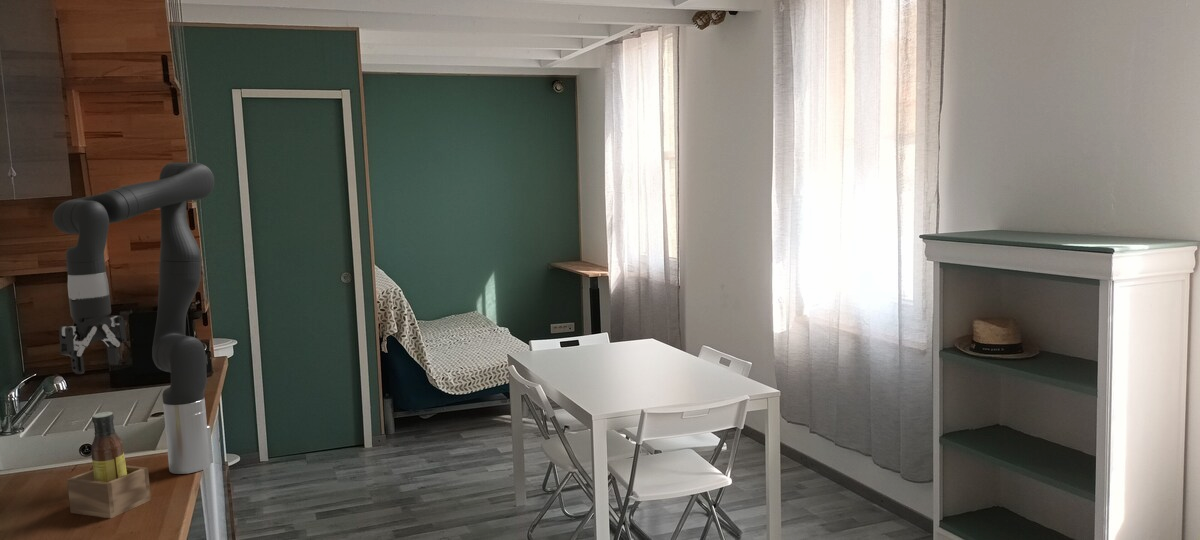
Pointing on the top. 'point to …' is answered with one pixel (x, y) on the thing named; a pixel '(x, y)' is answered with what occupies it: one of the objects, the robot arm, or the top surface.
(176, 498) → the top surface
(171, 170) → the robot arm
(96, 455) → the sauce bottle
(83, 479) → the box
